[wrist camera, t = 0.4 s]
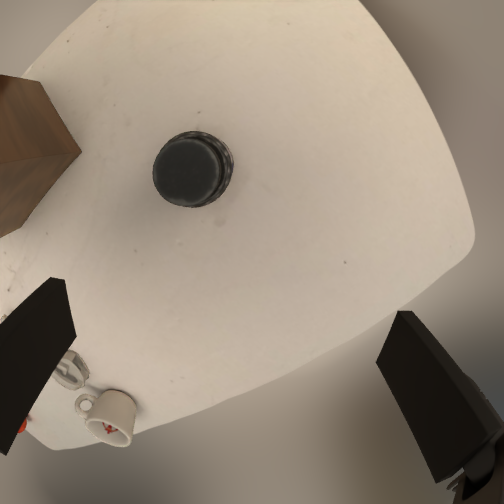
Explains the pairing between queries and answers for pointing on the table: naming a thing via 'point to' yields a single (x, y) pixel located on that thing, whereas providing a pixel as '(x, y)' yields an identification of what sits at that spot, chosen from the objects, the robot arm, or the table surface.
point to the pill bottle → (193, 169)
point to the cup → (109, 417)
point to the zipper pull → (69, 369)
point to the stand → (29, 149)
